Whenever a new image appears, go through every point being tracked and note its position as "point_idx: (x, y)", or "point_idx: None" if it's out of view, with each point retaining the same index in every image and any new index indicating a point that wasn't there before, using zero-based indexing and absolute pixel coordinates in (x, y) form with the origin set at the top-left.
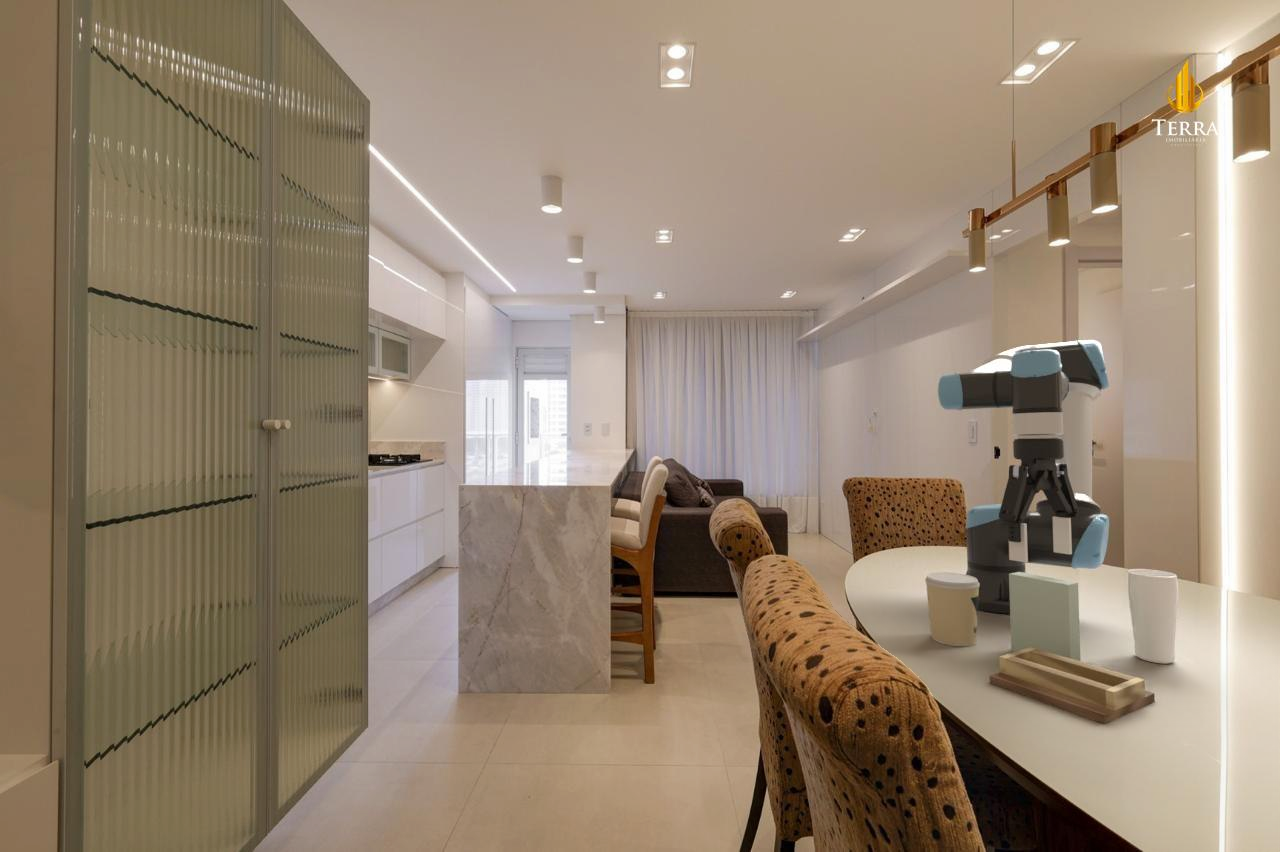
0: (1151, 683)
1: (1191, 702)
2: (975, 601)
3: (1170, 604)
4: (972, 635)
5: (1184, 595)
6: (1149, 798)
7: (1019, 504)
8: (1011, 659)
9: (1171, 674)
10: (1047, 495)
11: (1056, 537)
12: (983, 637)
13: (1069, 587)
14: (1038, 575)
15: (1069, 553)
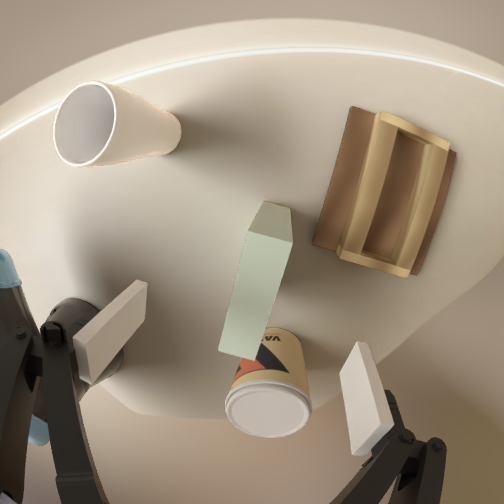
0: (277, 116)
1: (318, 75)
2: (277, 365)
3: (135, 94)
4: (283, 336)
5: None
6: None
7: (424, 484)
8: (410, 263)
9: (216, 104)
10: (94, 466)
11: (125, 336)
12: None
13: (287, 239)
14: (227, 314)
15: (146, 284)
